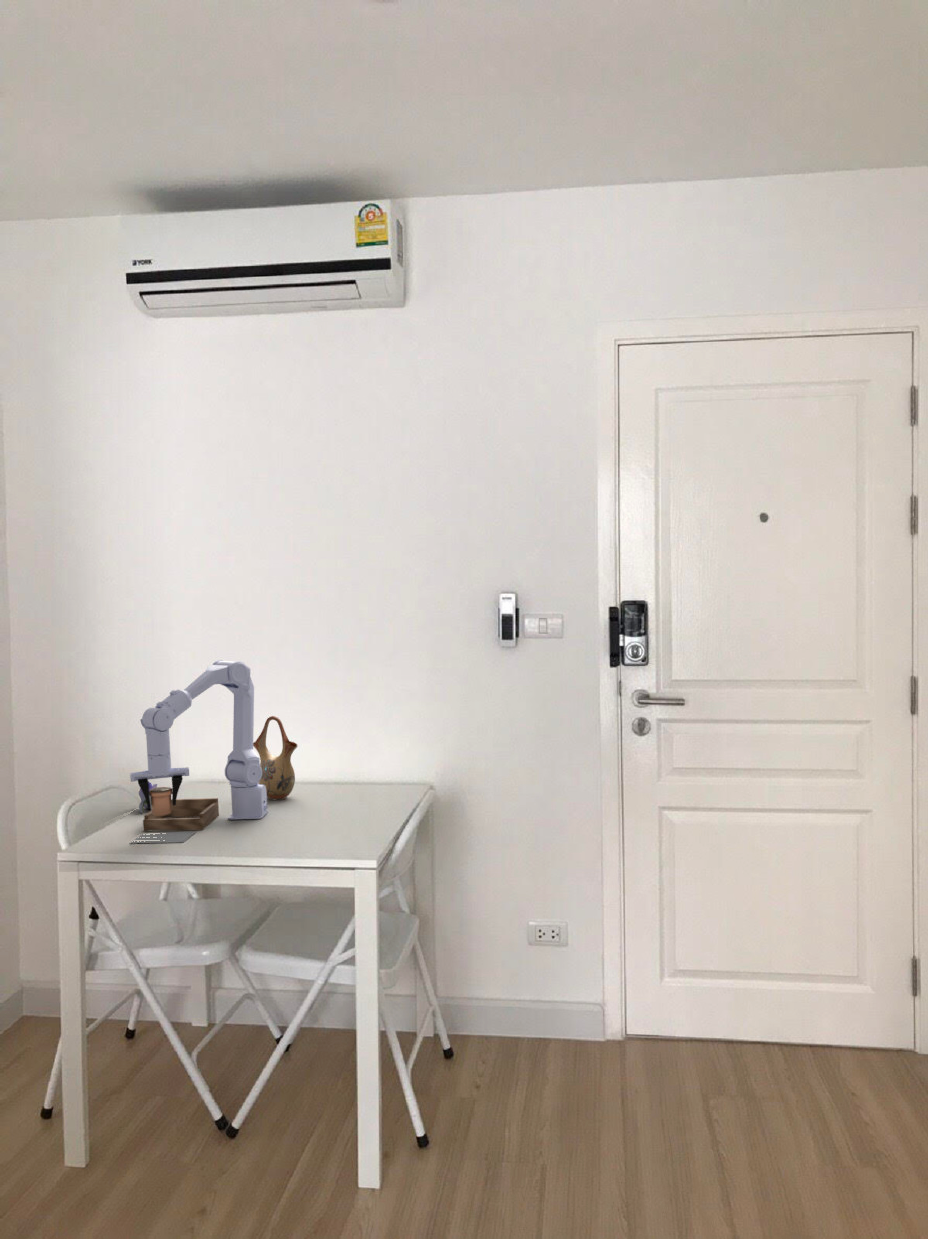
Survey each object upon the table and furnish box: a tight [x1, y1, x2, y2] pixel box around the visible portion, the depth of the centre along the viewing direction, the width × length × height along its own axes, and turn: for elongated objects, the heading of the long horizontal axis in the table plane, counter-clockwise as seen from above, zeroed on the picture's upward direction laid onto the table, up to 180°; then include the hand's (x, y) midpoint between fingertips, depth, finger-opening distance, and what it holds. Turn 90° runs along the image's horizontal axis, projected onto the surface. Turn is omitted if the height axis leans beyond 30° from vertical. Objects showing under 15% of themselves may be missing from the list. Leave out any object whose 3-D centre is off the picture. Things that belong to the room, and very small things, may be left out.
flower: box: [138, 780, 158, 814], centre depth 293 cm, size 9×9×10 cm
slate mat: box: [130, 831, 196, 845], centre depth 262 cm, size 14×10×1 cm
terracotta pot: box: [149, 786, 173, 816], centre depth 262 cm, size 6×6×6 cm
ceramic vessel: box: [253, 715, 299, 800], centre depth 302 cm, size 16×9×25 cm, turn 62°
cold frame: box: [142, 797, 220, 831], centre depth 277 cm, size 16×15×5 cm
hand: (161, 806), depth 261 cm, fingers closed on terracotta pot, 6 cm apart
